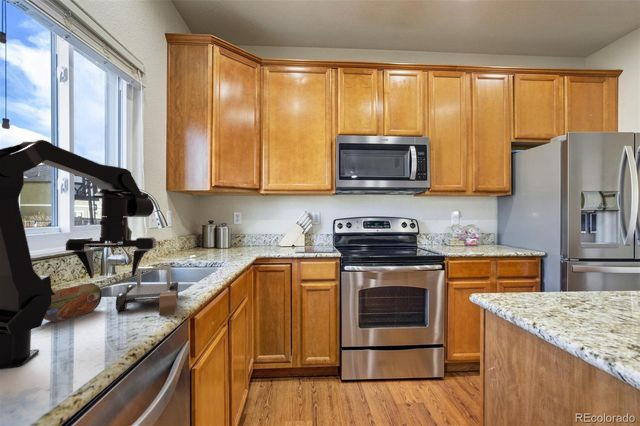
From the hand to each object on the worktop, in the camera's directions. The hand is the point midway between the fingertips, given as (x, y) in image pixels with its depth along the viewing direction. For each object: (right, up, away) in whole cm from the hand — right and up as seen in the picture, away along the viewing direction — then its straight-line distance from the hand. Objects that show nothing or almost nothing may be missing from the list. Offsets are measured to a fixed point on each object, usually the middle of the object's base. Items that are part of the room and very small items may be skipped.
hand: (113, 276), depth 79 cm
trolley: (-1, -12, +19) cm, 22 cm away
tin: (-15, -12, +5) cm, 20 cm away
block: (+9, -12, +10) cm, 18 cm away
